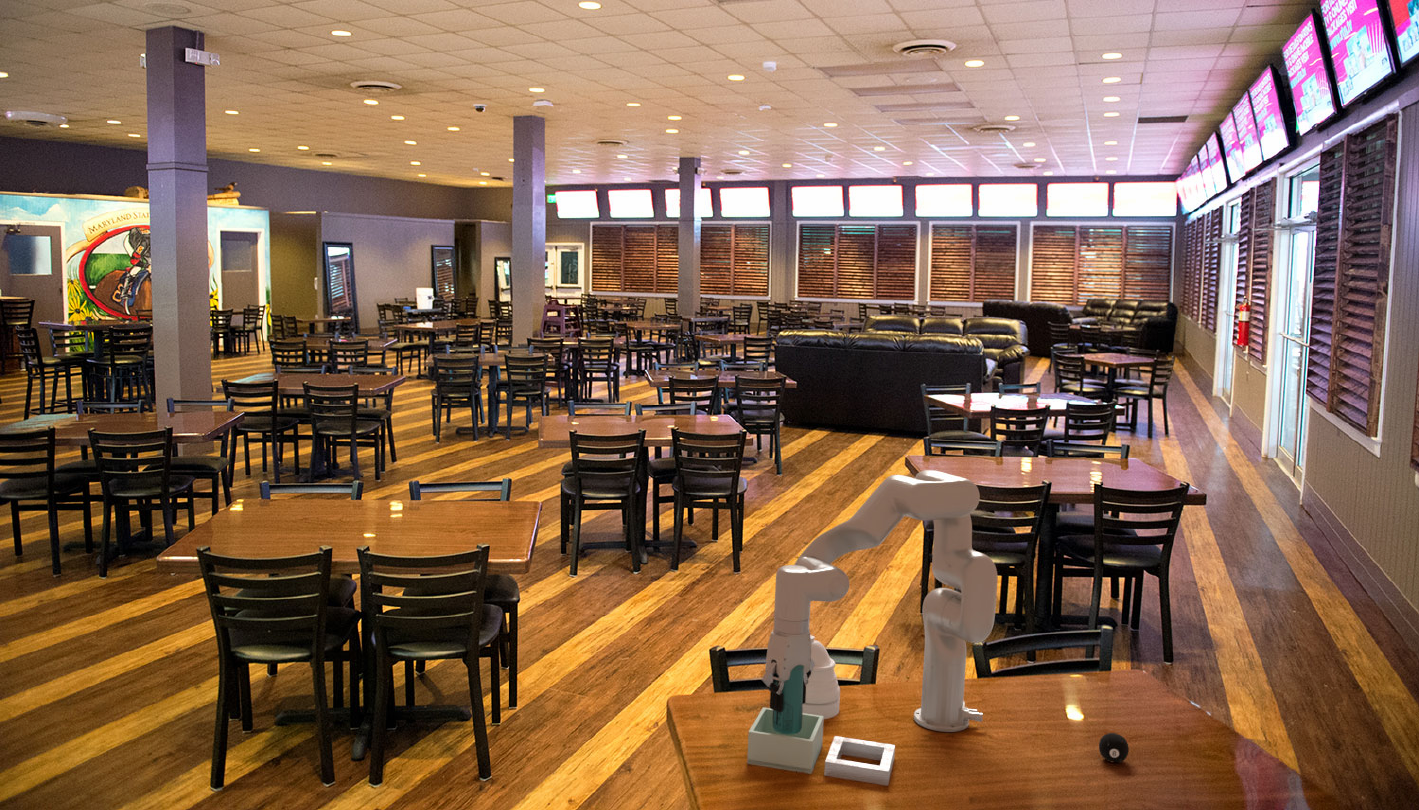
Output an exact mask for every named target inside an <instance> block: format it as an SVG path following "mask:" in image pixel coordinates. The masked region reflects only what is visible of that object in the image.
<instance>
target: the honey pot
mask: <svg viewBox="0 0 1419 810" xmlns="http://www.w3.org/2000/svg"><path fill="white" fill-rule="evenodd" d="M810 636H811V659H812V660H813V661H814V662H815V666H814V668H813V670H812V671H811V675H810V677H809V678H808V684H807V685H806V700H805V703H804V704H802V705H803V706H802V708H803V712H802V713H806V714H813V715H820V716H824V720H827V719H831V718H834V717H836V716H837V715H838V714H839V713H840V704H841V703H840V702H841V701H840V699H841V687H840V686H839V682H838V679H837V673H836V672H835V669H834V668H835V667H836V661H835V660H834V659H832V658H831V657H830V655H829V653H828V651H827V649H826V648H825V646H824V644H822V643H821V641H819V640H815V639H816V637H815V635H811V634H810Z"/></svg>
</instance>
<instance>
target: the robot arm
mask: <svg viewBox="0 0 1419 810" xmlns="http://www.w3.org/2000/svg"><path fill="white" fill-rule="evenodd" d="M980 496H981V495H980V491H979V487H978V486H977V484H976V483H974V482H973V481H972V480H970V479H968V478H966V477H965V478H964V477H961V476H958V475H954V474H950V473H947V472H943V471H939V470H936V469H935V470H933V469H924V470H921V471H920V472H918V473H917V474H916V475H915V477H911V476H907V475H902V474H893V475H890V476H887V477H886V478H885V479H884V480H883V481H882V482H881V483H880V484H879V485H878V486H877V488H876V489H875V490H874V491H873V492H872V493H871V495H870V496H869V497H868V498H867V499H866V500H865V501H864V503H863V504H862V505H861V506H860V507H859V509H857V510H856V512H855V513H854V514H853V516H851V517H850V518H849V519H848V520H846V521H844V522H842V523H840V524H837V525H836V526H834V527H832V528H830V529H828V530H826V531H825V532H823V533H822V534H819V535H818V536H817V537H816V538H814V539H813V541H812V542H811V543H809V545H808V546H807V547H806V548H805V549H804V550H803V552H802V553H801V554H800V555H799V556H798V558H796V559H797V560H796V561H795V562H794V564H786V565H782V566H780V567H778V569H777V571H776V573H775V592H774V613H773V630H772V631H771V632H770V635H769V639H768V644H767V651H766V659H765V673H764V674H763V676H762V678H761V681H762V682H763V683H764V684H765V687H766V688H767V689H768V690H767V691H769V692H770V694H769V708H771V709H773V710H775V711H778V712H782V711H783V696H784V695H783V694H782V693H781V692H782V689H783V686H784V683H785V681H786V680H789V677H790V672H791V670H792V669H793V668H794V667H796V666H797V665H803V666H804V674H803V703H802V704H804V703H805V700H806V685H807V684H808V678H809V677H810V675H811V671H812V670H813V668H814V666H815V662H814V661H813V660H812V659H811V636H810V635H811V629H810V620H811V619H810V618H811V602H825V603H826V602H827V603H828V602H829V603H830V602H836V601H840V600H841V599H843V598H844V597H845V596H846V595H847V593H848V591H849V589H850V579H849V577H848V574H847V573H846V572H845V571H843V570H842V569H841V568H839V567H838V566H835V565H833V564H832V563H833V562H835V560H837V559H838V558H840V557H842V556H844V555H846V554H848V553H852V552H856V551H862V550H868V549H873V548H876V547H879V546H880V545H881V544H882V543H884V541H885V540H886V539H887V538H888V536H889V535H890V534H891V532H892V531H893V530H894V529H895V528H896V527H897V526H898V524H899V523H901V521H902V520H903V519H904V517H908V518H912V519H914V520H918V521H933V542H932V543H933V544H932V546H933V547H932V556H931V557H932V562H931V571H932V574H933V577H934V578H935V579H936V580H938V581H939V583H942V584H944V585H947V586H948V587H951V588H953V589H951V588H947V587H938V588H934V589H933V590H931V591H930V592H928V593H927V595H926V596H925V597H924V600H923V604H922V620H923V625H924V626H923V627H924V651H923V652H924V654H923V656H924V657H923V668H922V669H923V671H922V673H923V674H922V685H921V705H920V708H917V709H916V710H915V711H914V712H913V720H914V721H915V723H917V725H919V726H921V727H923V728H925V729H928V730H932V731H936V732H942V733H955V732H957V733H958V732H961V731H964V730H965V729H968V727H969V725H970V721H971V720H972V721H975V722H981V723H982V722H983V712H978V709H976V708H975V709H974V708H968V707H967V706H965V704H966V703H965V701H964V697H965V695H964V694H965V680H966V679H965V678H966V665H967V662H966V661H967V644H966V642H969V643H971V644H976V643H977V644H979V643H982V642H983V641H985V640H986V639H987V638H988V637H990V634H991V632H992V630H993V628H994V625H995V624H994V623H995V616H996V606H997V594H998V592H997V591H998V571H997V570H998V569H997V567H996V564H995V562H994V561H993V559H991V558H990V556H988V555H987V554H985V553H982V552H980V551H976V550H975V549H973V546H972V545H973V524H972V523H973V522H972V518H971V514H972V513H973V512H974V511H975V510H976V509H977V507H978V505H979V503H980V499H981V498H980ZM954 589H956V590H954ZM957 590H959V591H957ZM777 674H778V675H779V678H778V677H777ZM776 681H779V684H778V687H777V685H776Z"/></svg>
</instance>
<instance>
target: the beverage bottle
mask: <svg viewBox="0 0 1419 810" xmlns="http://www.w3.org/2000/svg"><path fill="white" fill-rule="evenodd" d="M803 674H804V666H803V665H797V666H796V667H794V668H793V669H792V670H791V672H790V677H789V680H786V681H785V683H784V686H783V689H782V692H781V693H782V694H783V695H784V696H783V711H782V712H778V711H775V710H773V711H772V712H773V715H772V719H773V722H772V723H773V725H772V726H773V729H774V730H775V731H776V732H779V733H782V734H796V733H798V732H800V730H801V727H802V721H803V720H802V714H803V713H802V712H803V708H802V706H803V705H802V703H803ZM777 677H778V678H779V675H778V674H777ZM778 684H779V681H776V685H777V687H778Z"/></svg>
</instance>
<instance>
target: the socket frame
mask: <svg viewBox="0 0 1419 810" xmlns="http://www.w3.org/2000/svg"><path fill="white" fill-rule="evenodd" d="M895 754H896V745H895V744H891V743H883V742H877V741H870V740H864V739H863V740H862V739H858V738H851V737H844V736H843V737H842V736H838V735H834V737H833V740H832V742H831V744H830V747H829V751H828V753H827V756H826V758H825V761H824V774H823V775H824V776H826V777H833V778H839V779H844V780H850V781H856V782H857V781H858V782H863V783H869V784H876V785H881V786H886V787H887V786H889V783H890V779H891V774H892V770H893V766H894V761H895ZM842 755H843V756H850V757H854V758H855V757H856V758H863V759H869V760H875V761H880V764H879V765H877V764H870V763H864V762H857V761H852V760H846V759H842Z"/></svg>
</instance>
